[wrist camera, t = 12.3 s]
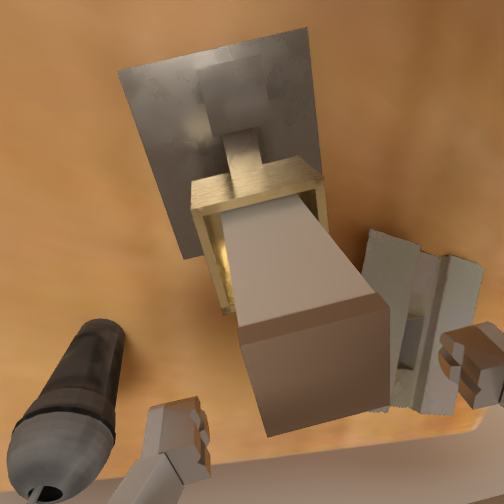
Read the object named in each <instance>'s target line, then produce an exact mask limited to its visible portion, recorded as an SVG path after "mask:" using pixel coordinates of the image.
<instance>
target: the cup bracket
mask: <svg viewBox="0 0 504 504" xmlns="http://www.w3.org/2000/svg"><path fill="white" fill-rule="evenodd" d="M117 72H118V75H119V78H120V81H121V83H122V86H123V89H124V92H125V95H126V98H127V100H128V103H129V106H130V109H131V112H132V115H133V117H134V120H135V123H136V126H137V129H138V132H139V134H140V137H141V140H142V143H143V146H144V149H145V151H146V154H147V157H148V160H149V163H150V166H151V168H152V171H153V174H154V177H155V180H156V183H157V185H158V188H159V191H160V194H161V197H162V200H163V202H164V205H165V208H166V211H167V214H168V217H169V219H170V222H171V225H172V228H173V231H174V234H175V236H176V239H177V242H178V245H179V248H180V251H181V253H182V256H183V259H184V260H185V259H189V258H193V257H197V256H201V255H205V258H206V261H207V264H208V268H209V271H210V274H211V277H212V280H213V283H214V287H215V290H216V293H217V296H218V299H219V303H220V306H221V309H222V312H223V315H224V314H228V313H232V312H236V308H235V301H234V295H233V289H232V283H231V276H230V270H229V264H228V258H227V251H226V245H225V239H224V233H223V227H222V220H221V214H220V212H222V211H226V210H230V209H234V208H239V207H243V206H247V205H251V204H255V203H259V202H263V201H267V200H271V199H275V198H279V197H284V196H288V195H292V194H297V195H298V196H299V198H300V199H301V200H302V201H303V203H304V204H305V205H306V206H307V208H308V209H309V210H310V211H311V213H312V214H313V215H314V217H315V218H316V219H317V220H318V222H319V223H320V224H321V225H322V227H323V228H324V229H325V230H326V232H327V233H328V234H329V226H328V216H327V206H326V196H325V186H324V177H323V176H322V168H321V158H320V148H319V139H318V129H317V119H316V109H315V99H314V89H313V79H312V69H311V59H310V49H309V40H308V30H307V27H306V28H301V29H297V30H293V31H288V32H284V33H280V34H275V35H271V36H267V37H262V38H258V39H254V40H250V41H245V42H241V43H237V44H232V45H228V46H224V47H219V48H215V49H211V50H206V51H202V52H198V53H193V54H189V55H185V56H180V57H176V58H172V59H167V60H163V61H159V62H154V63H150V64H146V65H141V66H137V67H133V68H129V69H124V70H120V71H117Z"/></svg>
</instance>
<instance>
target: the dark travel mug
mask: <svg viewBox="0 0 504 504" xmlns="http://www.w3.org/2000/svg"><path fill="white" fill-rule="evenodd" d="M124 336H125V335H124V332H123V329H122V328H121V327H120V326H119V325H118V324H116V323H115V322H113V321H110V320H107V319H95V320H91V321H89V322H86V323H85V324H84V325H83V326H82V327H81V329H80V331H79V332H78V334H77V335H76V336H75V337H74V339H73V341H72V342H71V344H70V346H69V347H68V349H67V351H66V352H65V354H64V356H63V357H62V359H61V361H60V362H59V364H58V366H57V367H56V369H55V370H54V372H53V374H52V375H51V377H50V379H49V380H48V382H47V384H46V385H45V387H44V389H43V390H42V392H41V394H40V395H39V397H38V399H36V400H35V401H34V402H33V403H32V405H31V406H30V407H29V409H28V410H27V411H26V412H25V414H24V416H23V417H22V419H21V420H19V421H18V422H17V423H16V425H15V428H14V430H13V432H12V436H11V442H10V444H9V448H8V452H7V469H8V476H9V480H10V482H11V485H12V486H13V487H14V489H15V490H16V491H17V493H18V494H19V495H20V496H22V497H23V498H25V499H27V500H28V502H27V504H35V503H38V504H54V503H59V502H62V501H65V500H67V499H70V498H72V497H74V496H75V495H77V494H78V493H80V492H81V491H83V490H84V489H85V488H86V487H87V486H89V485H90V484H91V483H92V482H93V481H94V480H95V479H96V477H97V476H98V474H99V473H100V471H101V470H102V468H103V467H104V465H105V463H106V462H107V460H108V457H109V455H110V452H111V450H112V448H113V446H114V444H115V438H116V433H115V405H116V398H117V391H118V384H119V377H120V370H121V363H122V356H123V349H124V344H123V343H124Z"/></svg>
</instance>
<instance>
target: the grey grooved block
mask: <svg viewBox="0 0 504 504" xmlns="http://www.w3.org/2000/svg"><path fill="white" fill-rule="evenodd" d="M369 236H370V238H368V242H367V246H366V247H367V249H366V250H367V251H366V254H365V259H364V260H365V261H364V263H363V267H362V268H363V270H362V272H361V275H362V277H363V278H364V279H365V280H366V282H367V283H368V284H369V285H370V287H371V288H372V289H373V290H374V292H375V293H377V292H378V293H379V294H380V296H381V297H382V298H383V299H384V301H385V302H386V303H387V304H388V306H389V307H390V405H389V406H385V407H382V408H378V409H374V410H370V411H368V412H380V411H382V412H384V413H388V409H389V407H391V406H393V407H394V406H396V407H399V408H400V407H401V408H403V407H404V408H406V407H409V408H411V409H412V410H415V411H417V412H419V413H420V414H425V415H426V414H428V415H431V414H433V415H434V414H435V415H437V414H438V415H448V416H449V415H450V416H453V411H454V407H455V401H456V398H457V393H458V384H456V383H454V382H452V381H450V380H449V379H448V378H447V377H446V375H445V374H444V373H443V371H442V369H441V367H440V364H439V361H438V351H439V350H440V349H441V348H442V346H443V345H442V344H441V343H440V342H439V341H440V336H441V334H442V333H445V332H448V331H452V330H456V329H459V328H463V327H467V326H472V322H473V319H474V312H475V309H476V304H477V298H478V295H479V290H480V284H481V282H482V281H481V279H482V277H483V273H484V269H483V268H482V267H481V266H480V265H479V264H478V263H474V262H472V261H471V262H470V261H467V260H466V259H464V260H462V258H460V257H459V258H457V257H455V256H452V255H448V256H443V257H441V258H437V257H436V256H434V255H433V256H432V254H430V255H429V253H428V254H427V253H425V252H421V251H420V249H421V245H419V244H418V243H413V242H409V241H407V240H404V239H402V238H398V237H397V238H395V236H394V237H393V236H390V234H389V235H388V234H385V233H384V232H380V231H376V230H375V231H374V230H373V229H371V228H370V231H369Z"/></svg>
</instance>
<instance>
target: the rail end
mask: <svg viewBox="0 0 504 504" xmlns="http://www.w3.org/2000/svg"><path fill="white" fill-rule="evenodd" d="M220 214H221V220H222V227H223V233H224V239H225V245H226V251H227V258H228V264H229V270H230V276H231V283H232V289H233V295H234V301H235V308H236V314H237V320H238V326H239V328H237V331H238V338H239V344H240V348H241V352H242V355H243V358H244V362H245V365H246V368H247V372H248V375H249V378H250V382H251V385H252V388H253V392H254V395H255V398H256V401H257V405H258V408H259V411H260V415H261V418H262V421H263V425H264V428H265V431H266V435H267V438H268V437H272V436H276V435H279V434H283V433H287V432H291V431H294V430H298V429H302V428H306V427H310V426H313V425H317V424H321V423H325V422H329V421H332V420H336V419H340V418H344V417H347V416H351V415H355V414H359V413H363V412H366V411H370V410H374V409H378V408H382V407H385V406H389V405H390V307H389V306H388V304H387V303H386V302H385V301H384V299H383V298H382V297H381V296H380V294H379V293H378V292H377V293H375V292H374V290H373V289H372V288H371V287H370V285H369V284H368V283H367V282H366V280H365V279H364V278H363V277H362V275H361V274H360V273H359V272H358V270H357V269H356V268H355V267H354V265H353V264H352V263H351V262H350V260H349V259H348V258H347V257H346V255H345V254H344V253H343V252H342V250H341V249H340V248H339V247H338V245H337V244H336V243H335V242H334V240H333V239H332V238H331V237H330V235H329V234H328V233H327V232H326V230H325V229H324V228H323V227H322V225H321V224H320V223H319V222H318V220H317V219H316V218H315V217H314V215H313V214H312V213H311V211H310V210H309V209H308V208H307V206H306V205H305V204H304V203H303V201H302V200H301V199H300V198H299V196H298V195H297V194H292V195H288V196H284V197H279V198H275V199H271V200H267V201H263V202H259V203H255V204H251V205H247V206H243V207H239V208H234V209H230V210H226V211H222V212H220Z"/></svg>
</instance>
